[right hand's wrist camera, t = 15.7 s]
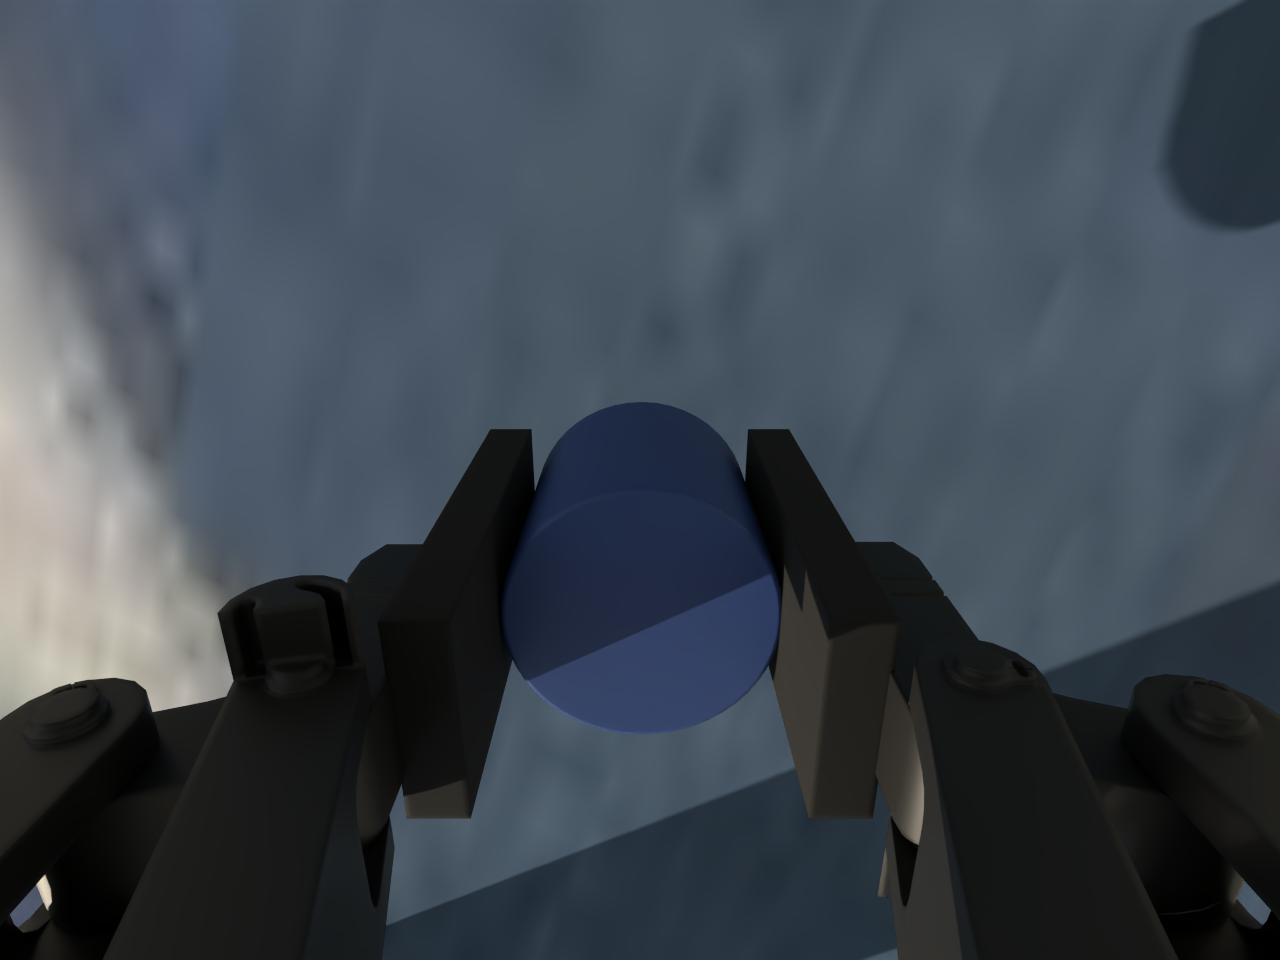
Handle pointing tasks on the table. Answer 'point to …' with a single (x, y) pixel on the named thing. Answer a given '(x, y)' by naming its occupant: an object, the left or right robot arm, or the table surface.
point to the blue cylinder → (641, 575)
